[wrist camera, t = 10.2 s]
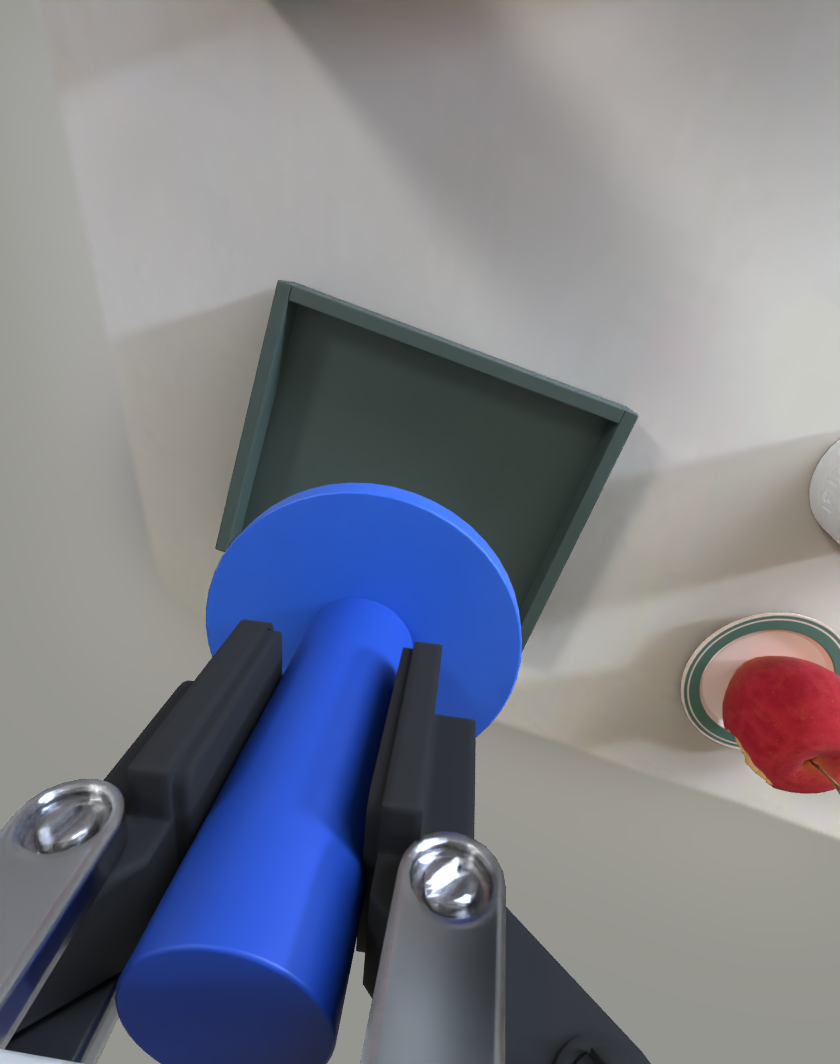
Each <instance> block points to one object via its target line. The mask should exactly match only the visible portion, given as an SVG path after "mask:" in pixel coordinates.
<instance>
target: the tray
mask: <svg viewBox="0 0 840 1064" xmlns="http://www.w3.org/2000/svg"><path fill="white" fill-rule="evenodd" d="M637 418H638V414H637V413H635V412H633V411H632V410H630V409H629V408H627V407H626V406H623V405H621V404H618V403H615V402H613V401H610V400H607V399H605V398H602V397H599V396H597V395H594V394H591V393H589V392H586V391H583V390H581V389H578V388H575V387H573V386H570V385H567V384H565V383H562V382H559V381H557V380H554V379H551V378H549V377H546V376H543V375H541V374H538V373H535V372H533V371H530V370H527V369H525V368H522V367H519V366H517V365H514V364H511V363H508V362H506V361H503V360H500V359H498V358H495V357H492V356H490V355H487V354H484V353H482V352H479V351H476V350H474V349H471V348H468V347H466V346H463V345H460V344H458V343H455V342H452V341H450V340H447V339H444V338H442V337H439V336H436V335H434V334H431V333H428V332H426V331H423V330H420V329H418V328H415V327H412V326H410V325H407V324H404V323H402V322H399V321H396V320H394V319H391V318H388V317H386V316H383V315H380V314H378V313H375V312H372V311H370V310H367V309H364V308H362V307H359V306H356V305H354V304H351V303H348V302H346V301H343V300H340V299H338V298H335V297H332V296H330V295H327V294H324V293H322V292H319V291H316V290H314V289H311V288H308V287H306V286H303V285H300V284H298V283H295V282H289V281H282V280H278V282H277V286H276V290H275V295H274V299H273V303H272V307H271V312H270V316H269V320H268V325H267V329H266V333H265V337H264V342H263V346H262V350H261V355H260V359H259V363H258V368H257V372H256V376H255V380H254V385H253V389H252V393H251V398H250V402H249V406H248V410H247V415H246V419H245V423H244V428H243V432H242V436H241V441H240V445H239V449H238V453H237V458H236V462H235V466H234V471H233V475H232V479H231V483H230V488H229V492H228V496H227V501H226V505H225V509H224V514H223V518H222V522H221V526H220V531H219V535H218V539H217V544H216V549H217V550H220V551H223V552H226V550H227V549H228V548H229V546H230V545H231V543H232V542H233V541H234V540H235V539H236V537H237V536H238V535H239V534H240V533H241V532H242V531H243V530H244V529H245V528H246V527H247V526H248V525H249V524H250V523H252V522H253V521H254V520H255V519H256V518H257V517H258V516H260V515H261V514H262V513H264V512H265V511H266V510H267V509H269V508H270V507H271V506H273V505H275V504H277V503H278V502H280V501H282V500H284V499H286V498H287V497H289V496H292V495H295V494H297V493H300V492H302V491H305V490H308V489H312V488H316V487H320V486H325V485H329V484H340V483H373V484H379V485H385V486H392V487H396V488H399V489H403V490H406V491H409V492H413V493H416V494H418V495H420V496H423V497H425V498H427V499H430V500H432V501H434V502H436V503H438V504H439V505H441V506H443V507H445V508H446V509H448V510H450V511H451V512H453V513H455V514H456V515H457V516H458V517H460V518H461V519H462V520H463V521H465V522H466V523H467V524H469V525H470V526H471V527H472V528H473V529H474V530H475V531H476V532H477V533H478V534H479V535H480V536H481V537H482V538H483V539H484V540H485V541H486V542H487V544H488V545H489V546H490V548H491V549H492V550H493V552H494V553H495V554H496V556H497V557H498V558H499V560H500V562H501V564H502V566H503V567H504V569H505V571H506V573H507V574H508V577H509V579H510V582H511V585H512V587H513V590H514V592H515V596H516V600H517V605H518V609H519V615H520V623H521V636H522V651H523V649H524V647H525V645H526V643H527V641H528V639H529V637H530V635H531V633H532V631H533V629H534V626H535V624H536V622H537V620H538V618H539V616H540V614H541V612H542V610H543V608H544V606H545V604H546V602H547V600H548V598H549V596H550V594H551V592H552V590H553V588H554V586H555V584H556V582H557V580H558V578H559V576H560V574H561V572H562V570H563V568H564V566H565V564H566V562H567V560H568V558H569V556H570V554H571V552H572V550H573V547H574V545H575V543H576V541H577V539H578V537H579V535H580V533H581V531H582V529H583V527H584V525H585V523H586V521H587V519H588V517H589V515H590V513H591V511H592V509H593V507H594V505H595V503H596V501H597V499H598V497H599V495H600V493H601V491H602V489H603V487H604V485H605V483H606V481H607V479H608V477H609V475H610V473H611V471H612V468H613V466H614V464H615V462H616V460H617V458H618V456H619V454H620V452H621V450H622V448H623V446H624V444H625V442H626V440H627V438H628V436H629V434H630V432H631V430H632V428H633V426H634V424H635V422H636V420H637ZM522 651H521V653H522Z"/></svg>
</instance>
